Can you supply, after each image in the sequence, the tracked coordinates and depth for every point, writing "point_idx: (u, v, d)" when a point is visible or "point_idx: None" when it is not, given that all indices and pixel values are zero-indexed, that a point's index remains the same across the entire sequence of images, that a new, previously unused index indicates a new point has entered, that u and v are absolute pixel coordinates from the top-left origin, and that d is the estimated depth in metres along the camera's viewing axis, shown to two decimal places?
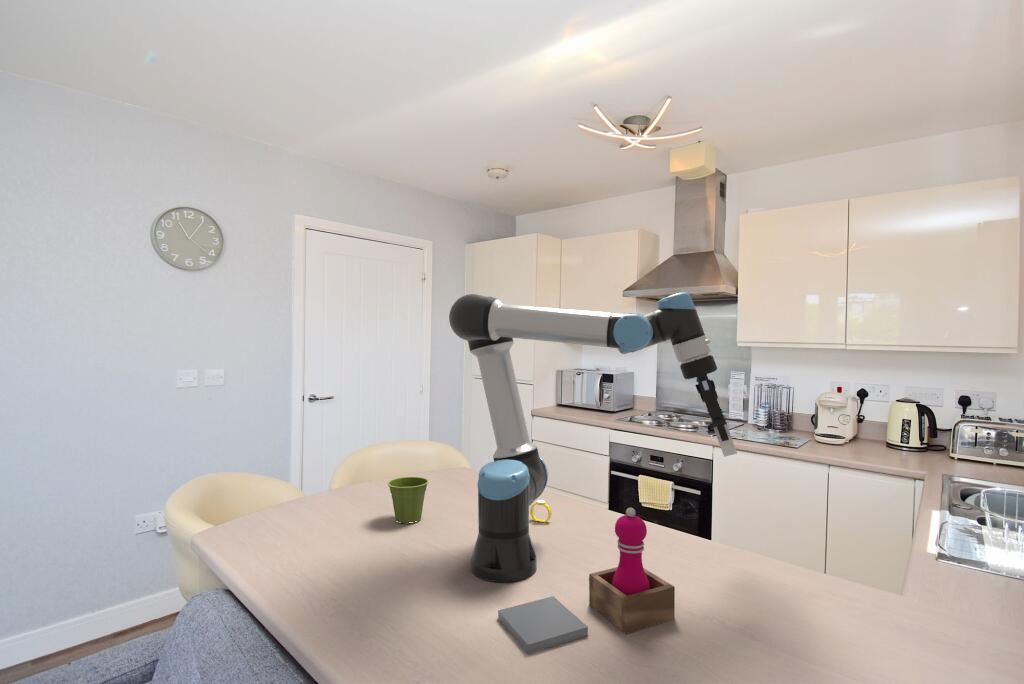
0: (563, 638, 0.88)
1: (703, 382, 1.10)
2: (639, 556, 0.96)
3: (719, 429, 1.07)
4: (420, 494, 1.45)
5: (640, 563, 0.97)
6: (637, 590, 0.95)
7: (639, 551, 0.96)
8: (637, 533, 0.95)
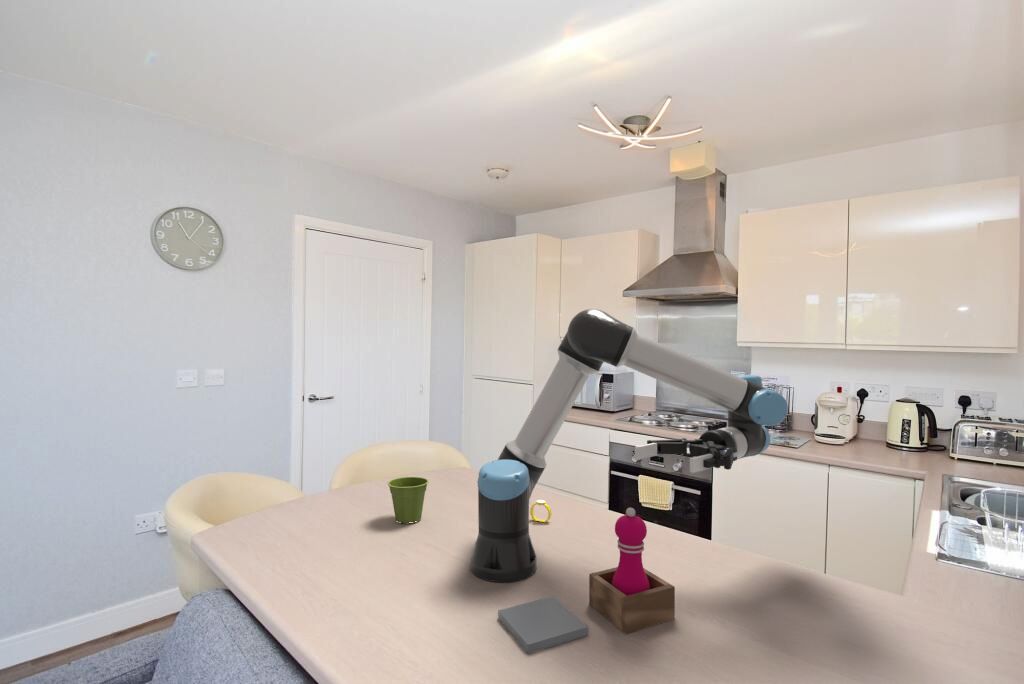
0: (563, 638, 0.88)
1: (736, 453, 1.08)
2: (639, 556, 0.97)
3: (716, 460, 1.00)
4: (420, 494, 1.45)
5: (640, 563, 0.97)
6: (637, 590, 0.95)
7: (639, 551, 0.96)
8: (637, 533, 0.95)
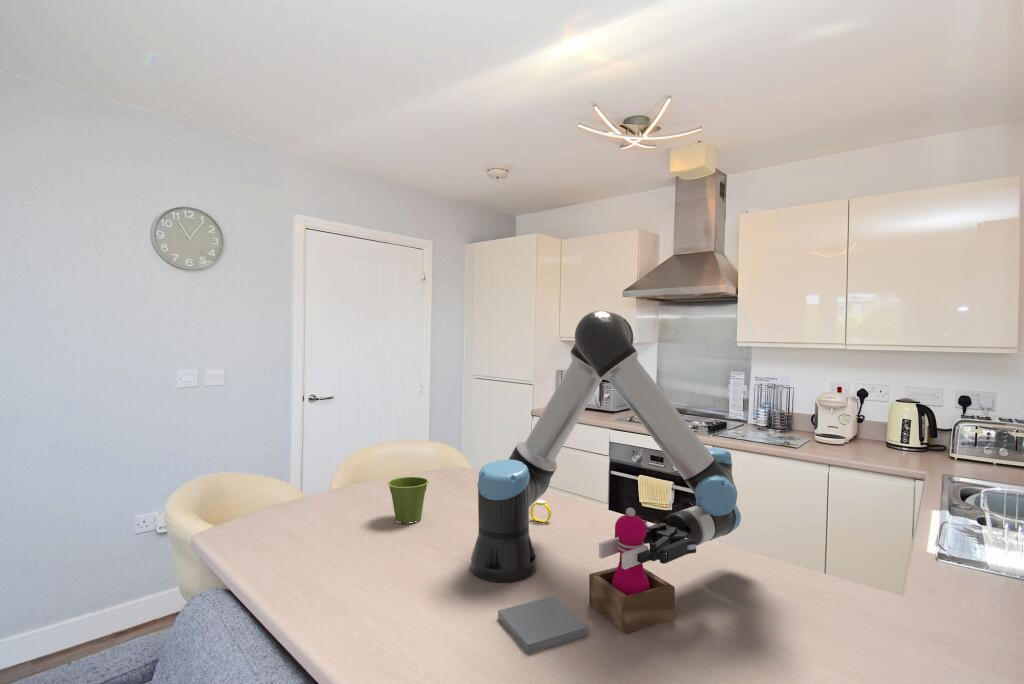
0: (563, 638, 0.88)
1: (695, 545, 0.99)
2: None
3: (651, 554, 0.95)
4: (420, 494, 1.45)
5: (640, 563, 0.97)
6: (637, 590, 0.95)
7: None
8: (637, 533, 0.95)
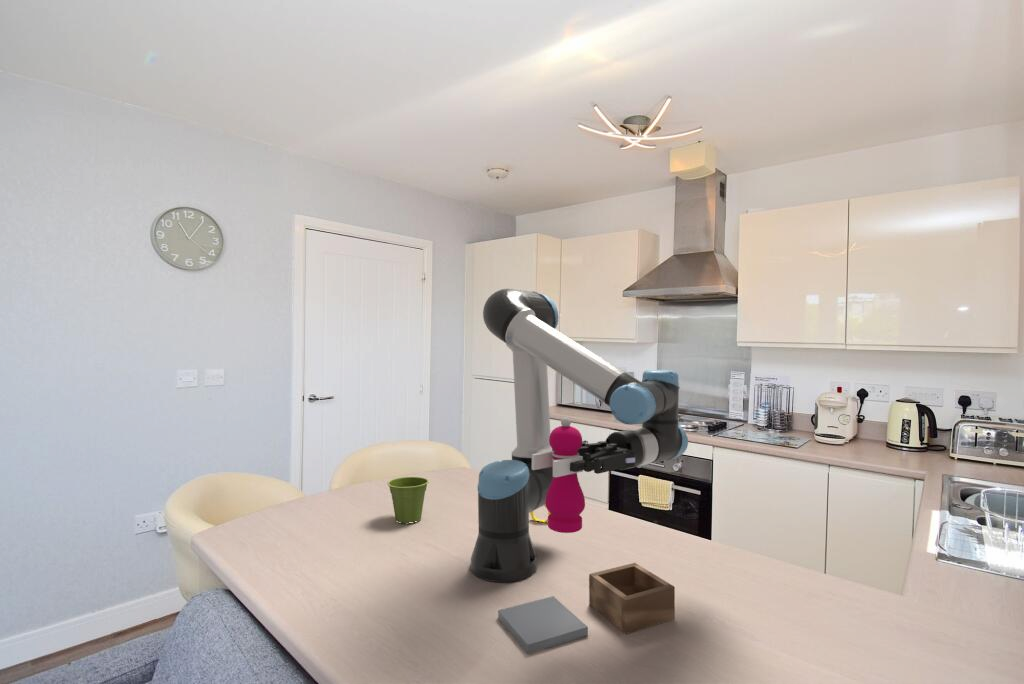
0: (563, 638, 0.88)
1: (634, 458, 0.94)
2: None
3: (585, 463, 0.90)
4: (420, 494, 1.45)
5: (574, 475, 0.91)
6: (570, 502, 0.89)
7: None
8: (571, 442, 0.90)
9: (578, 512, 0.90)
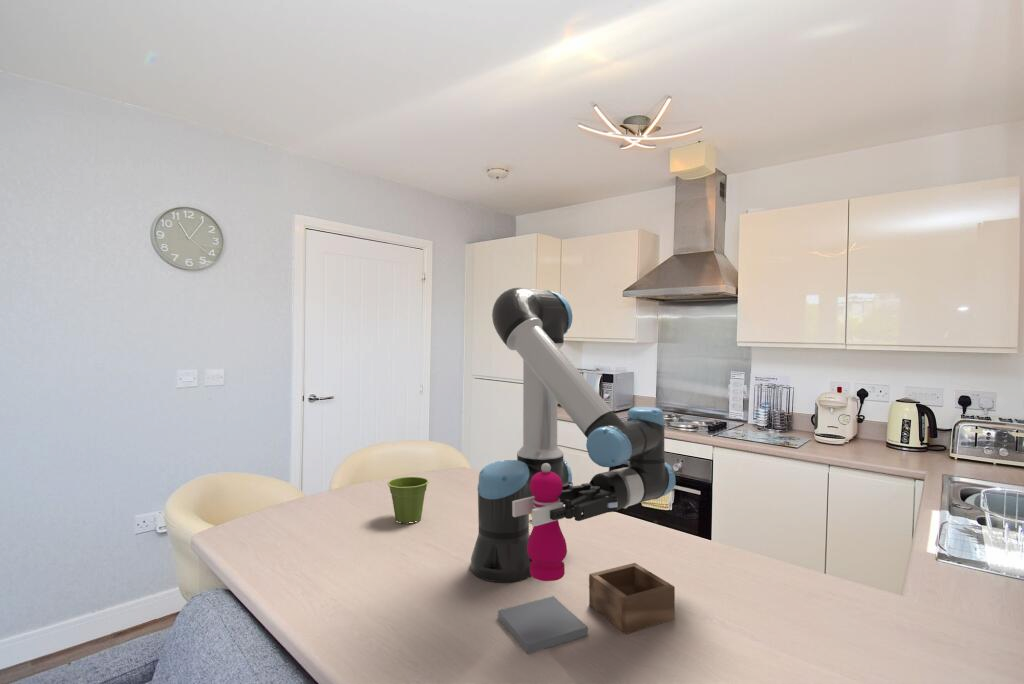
0: (563, 638, 0.88)
1: (616, 503, 0.93)
2: None
3: (565, 510, 0.89)
4: (420, 494, 1.45)
5: (555, 521, 0.91)
6: (550, 550, 0.89)
7: None
8: (551, 489, 0.89)
9: (559, 560, 0.89)
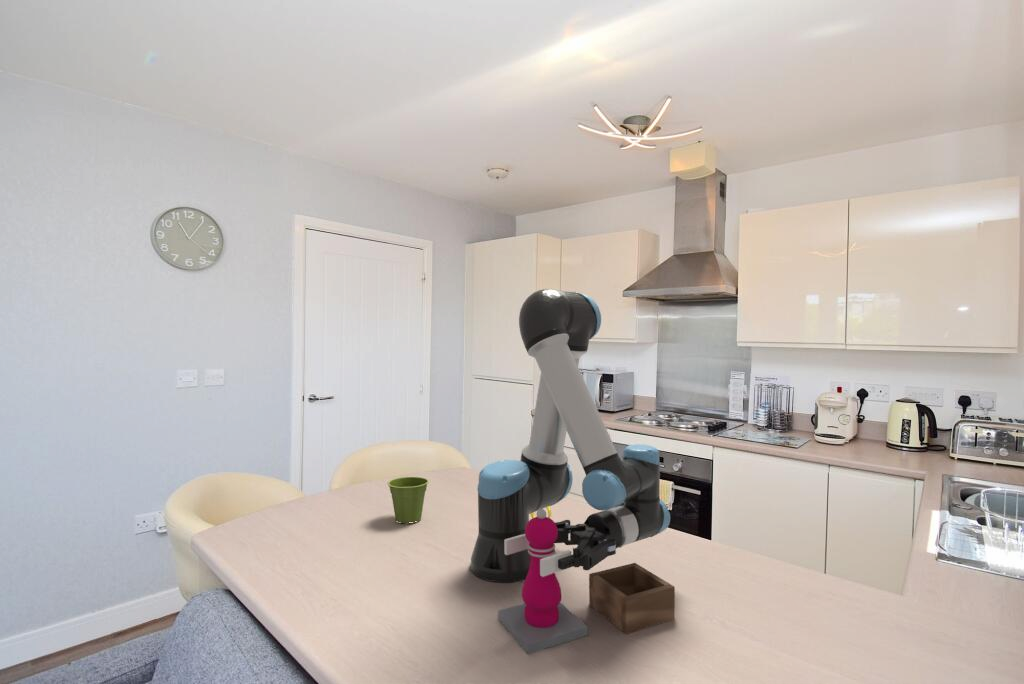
0: (563, 638, 0.88)
1: (615, 546, 0.95)
2: None
3: (573, 559, 0.88)
4: (420, 494, 1.45)
5: None
6: (545, 596, 0.89)
7: (548, 555, 0.91)
8: (546, 536, 0.90)
9: (554, 606, 0.90)
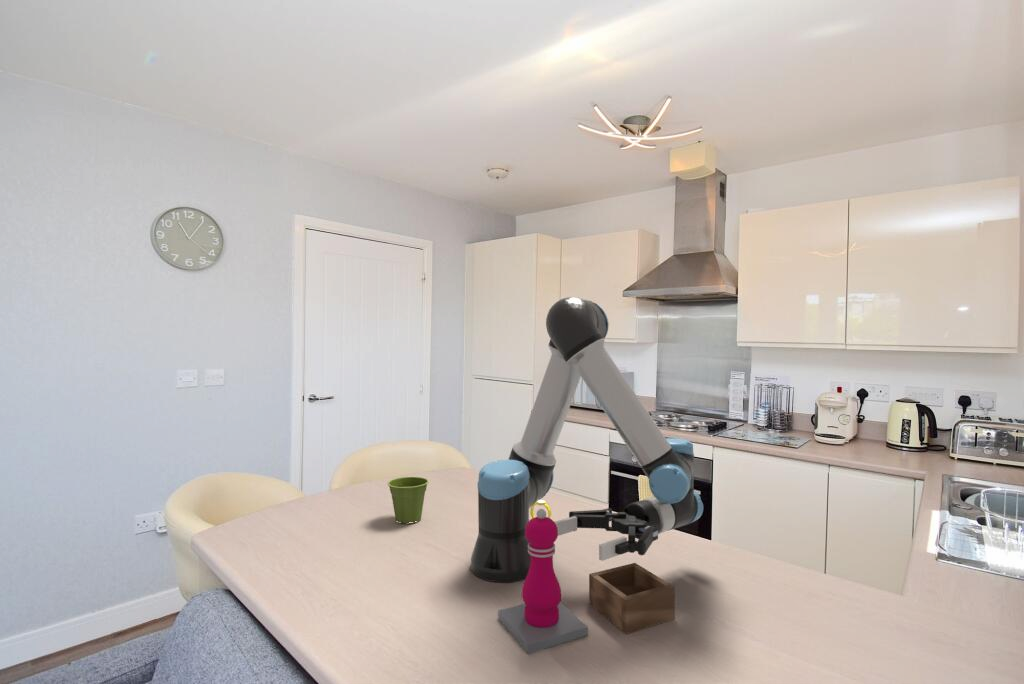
0: (563, 638, 0.88)
1: (657, 531, 1.01)
2: (549, 560, 0.91)
3: (629, 545, 0.94)
4: (420, 494, 1.45)
5: (550, 568, 0.92)
6: (545, 596, 0.89)
7: (548, 555, 0.91)
8: (546, 536, 0.90)
9: (554, 606, 0.90)
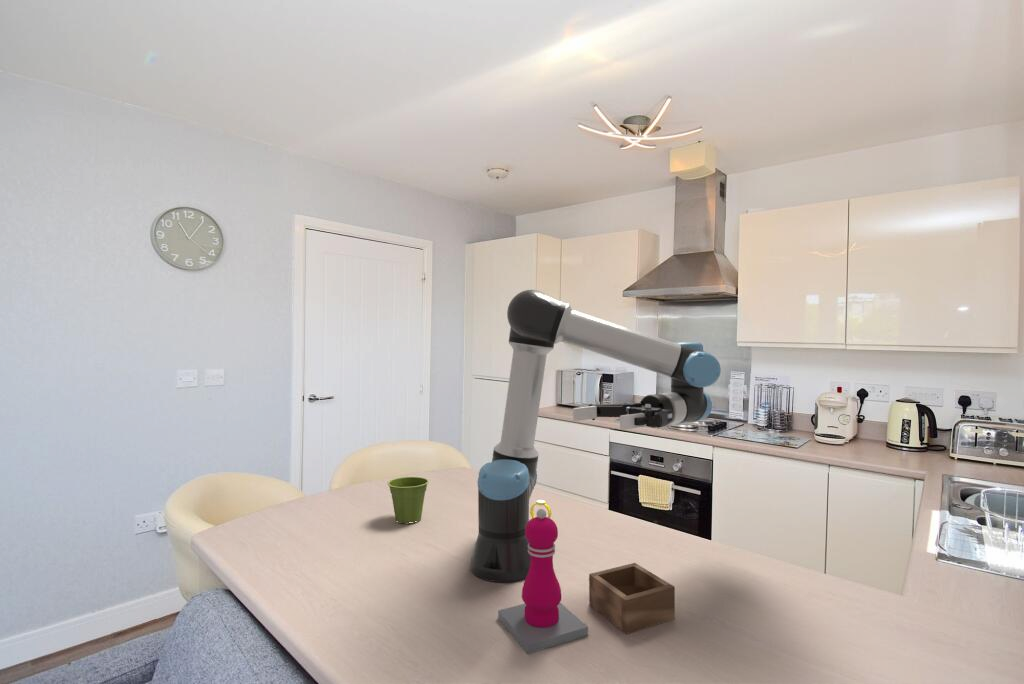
0: (563, 638, 0.88)
1: (672, 414, 1.10)
2: (549, 560, 0.91)
3: (647, 418, 1.03)
4: (420, 494, 1.45)
5: (550, 568, 0.92)
6: (545, 596, 0.89)
7: (548, 555, 0.91)
8: (546, 536, 0.90)
9: (554, 606, 0.90)
